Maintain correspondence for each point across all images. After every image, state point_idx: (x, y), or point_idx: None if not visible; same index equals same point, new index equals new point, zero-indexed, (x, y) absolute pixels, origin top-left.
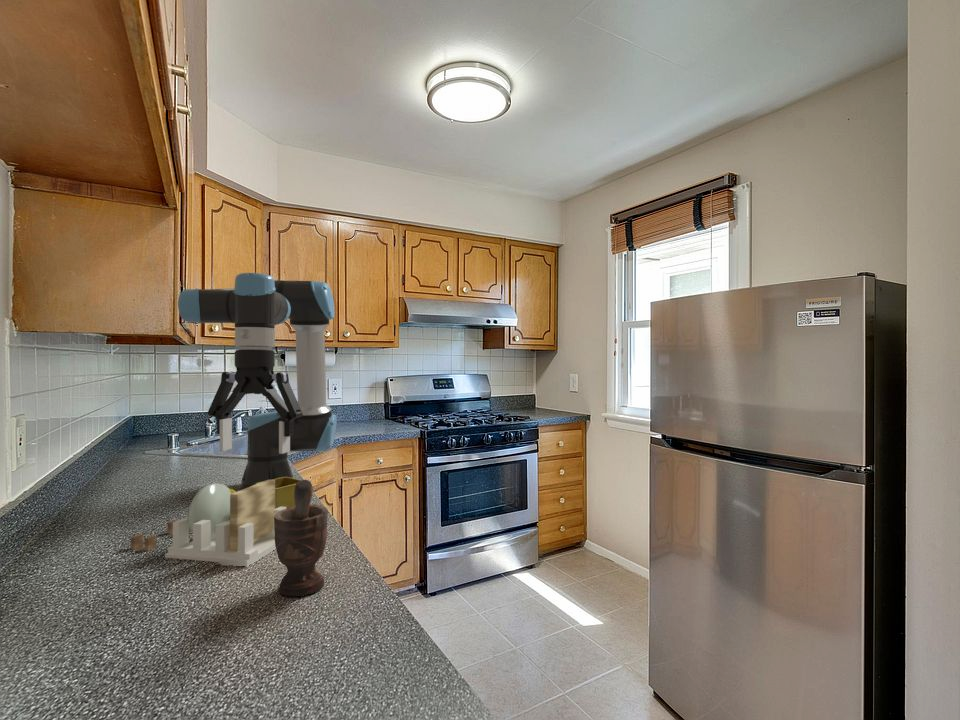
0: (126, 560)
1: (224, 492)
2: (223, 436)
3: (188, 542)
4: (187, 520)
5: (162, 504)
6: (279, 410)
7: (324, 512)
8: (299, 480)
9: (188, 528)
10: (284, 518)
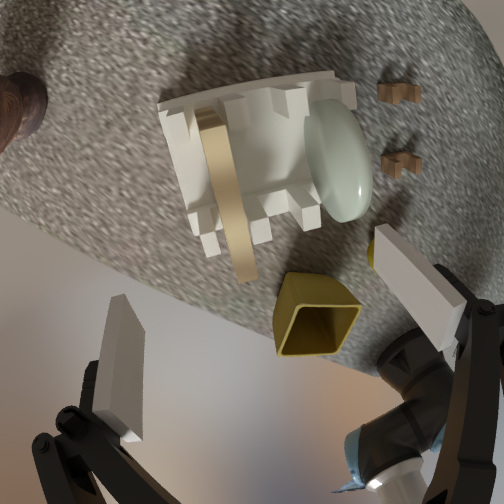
0: (384, 55)
1: (343, 205)
2: (406, 261)
3: None
4: None
5: (483, 242)
6: (108, 466)
7: None
8: (295, 354)
9: None
10: None
